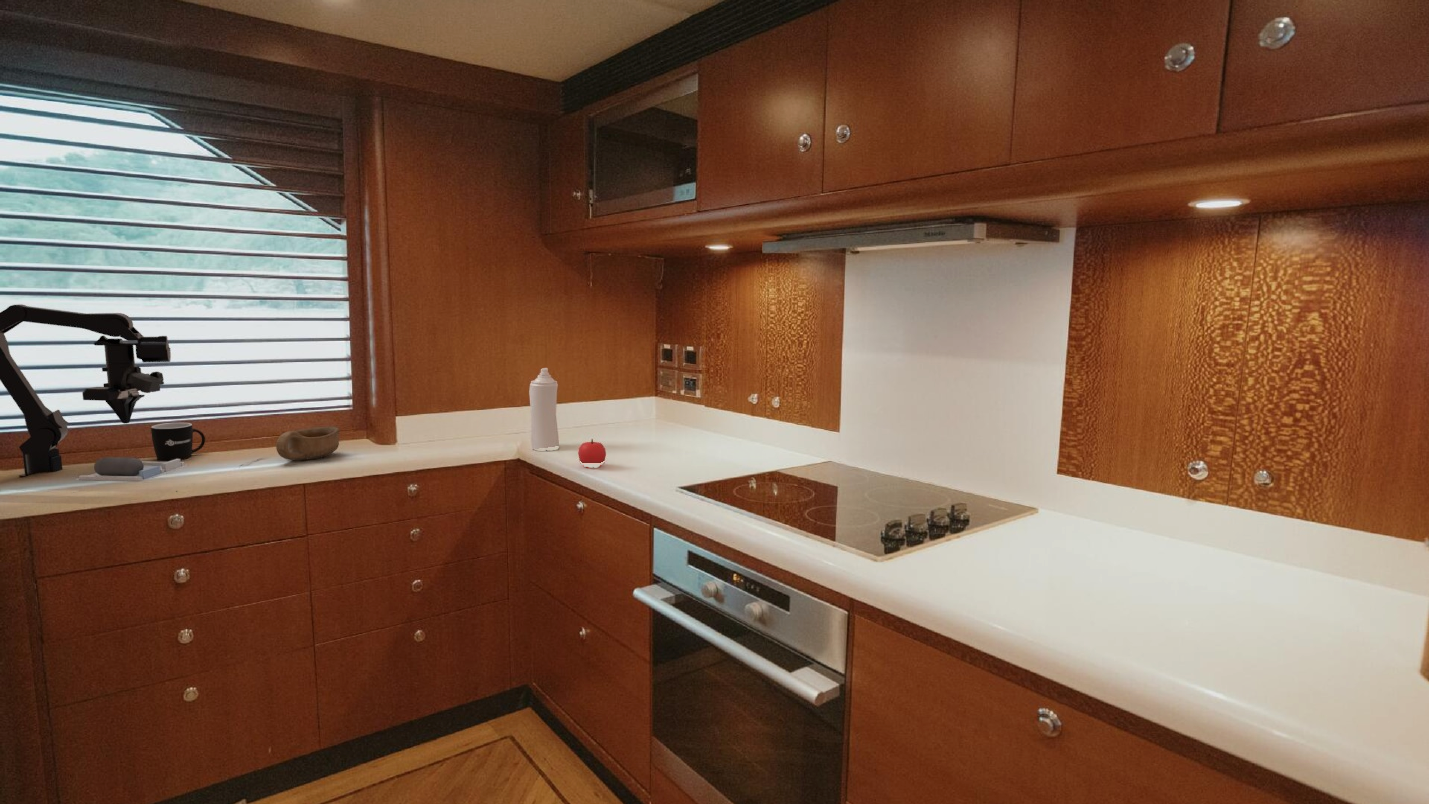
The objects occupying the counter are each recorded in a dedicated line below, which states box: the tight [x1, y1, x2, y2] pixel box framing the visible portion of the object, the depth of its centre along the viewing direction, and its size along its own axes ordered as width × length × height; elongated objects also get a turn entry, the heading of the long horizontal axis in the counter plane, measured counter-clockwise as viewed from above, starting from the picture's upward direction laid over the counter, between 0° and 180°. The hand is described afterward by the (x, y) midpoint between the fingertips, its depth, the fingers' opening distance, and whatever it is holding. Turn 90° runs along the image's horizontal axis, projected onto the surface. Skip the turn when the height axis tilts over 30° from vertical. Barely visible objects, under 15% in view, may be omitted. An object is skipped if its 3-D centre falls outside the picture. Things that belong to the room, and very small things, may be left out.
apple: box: [577, 438, 607, 463], centre depth 208 cm, size 8×8×8 cm
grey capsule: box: [93, 456, 144, 476], centre depth 178 cm, size 11×5×5 cm, turn 92°
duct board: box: [74, 459, 189, 482], centre depth 183 cm, size 16×16×3 cm
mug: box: [150, 422, 206, 462], centre depth 199 cm, size 12×9×10 cm
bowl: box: [275, 426, 340, 461], centre depth 206 cm, size 18×14×10 cm
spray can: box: [528, 367, 560, 450], centre depth 229 cm, size 12×11×25 cm
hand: (125, 423), depth 189 cm, fingers closed
